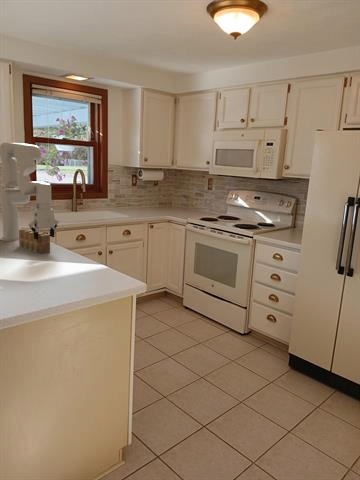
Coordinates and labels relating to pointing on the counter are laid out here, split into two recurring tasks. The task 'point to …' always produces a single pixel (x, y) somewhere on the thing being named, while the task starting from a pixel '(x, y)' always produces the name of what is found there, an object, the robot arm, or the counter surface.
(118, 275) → the counter surface
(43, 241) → the domino
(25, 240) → the domino
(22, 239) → the domino
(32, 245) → the domino
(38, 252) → the board
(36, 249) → the domino
